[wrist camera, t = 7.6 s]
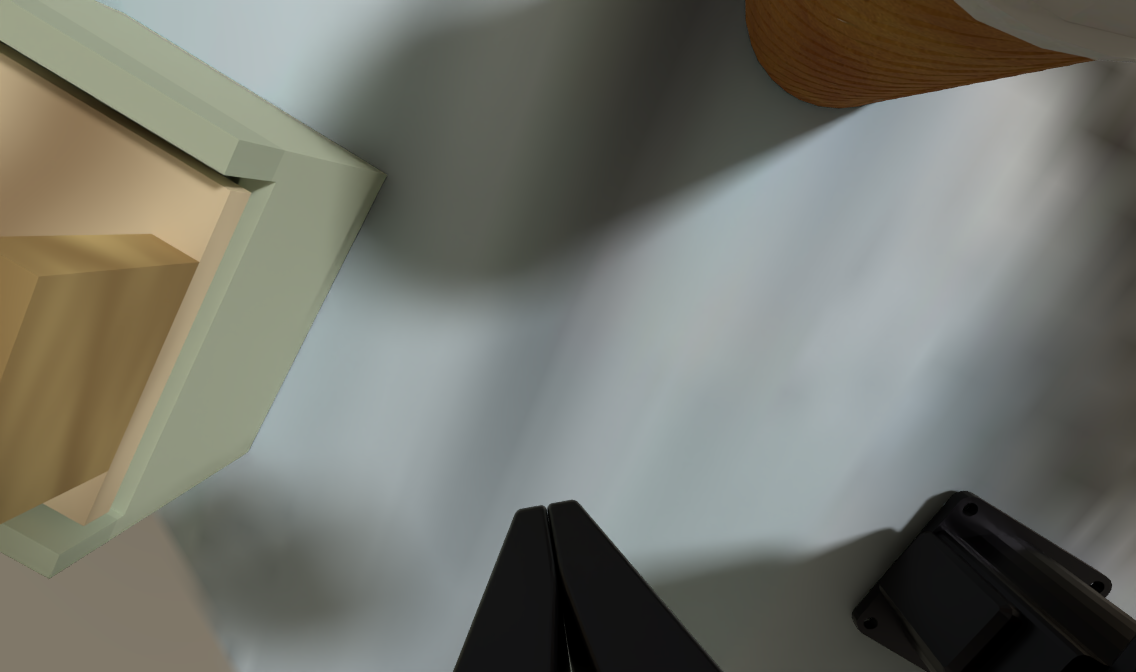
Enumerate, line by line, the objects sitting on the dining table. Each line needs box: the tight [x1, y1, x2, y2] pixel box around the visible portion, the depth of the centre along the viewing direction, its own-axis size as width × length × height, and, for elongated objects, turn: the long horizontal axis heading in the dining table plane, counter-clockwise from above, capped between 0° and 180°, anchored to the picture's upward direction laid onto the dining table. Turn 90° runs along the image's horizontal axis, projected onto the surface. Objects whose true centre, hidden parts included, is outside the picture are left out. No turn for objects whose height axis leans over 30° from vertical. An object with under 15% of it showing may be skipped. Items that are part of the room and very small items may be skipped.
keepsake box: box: [0, 0, 387, 579], centre depth 15 cm, size 10×12×8 cm
